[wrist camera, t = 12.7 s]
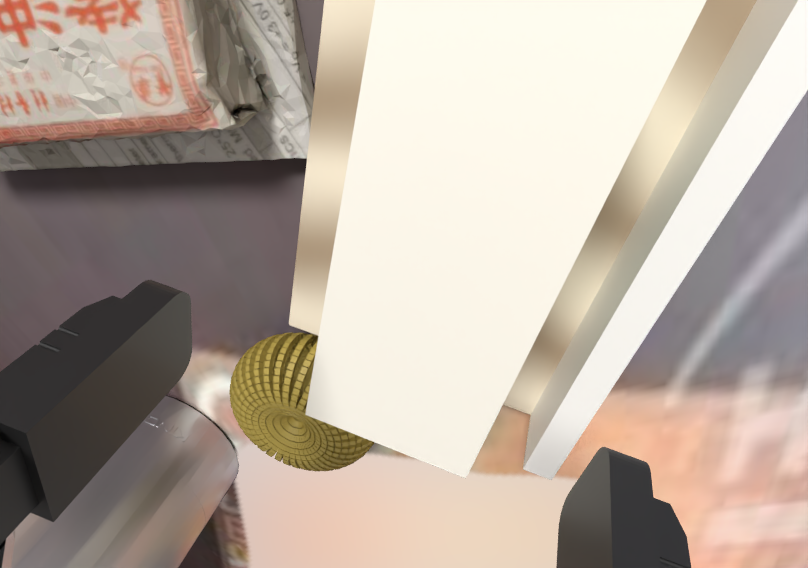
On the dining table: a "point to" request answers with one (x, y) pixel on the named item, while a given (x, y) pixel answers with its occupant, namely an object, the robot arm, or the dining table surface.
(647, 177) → the shelf board
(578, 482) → the robot arm
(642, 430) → the dining table surface
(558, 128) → the carton
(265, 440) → the sculpture
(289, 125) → the packaged product
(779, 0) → the rail
